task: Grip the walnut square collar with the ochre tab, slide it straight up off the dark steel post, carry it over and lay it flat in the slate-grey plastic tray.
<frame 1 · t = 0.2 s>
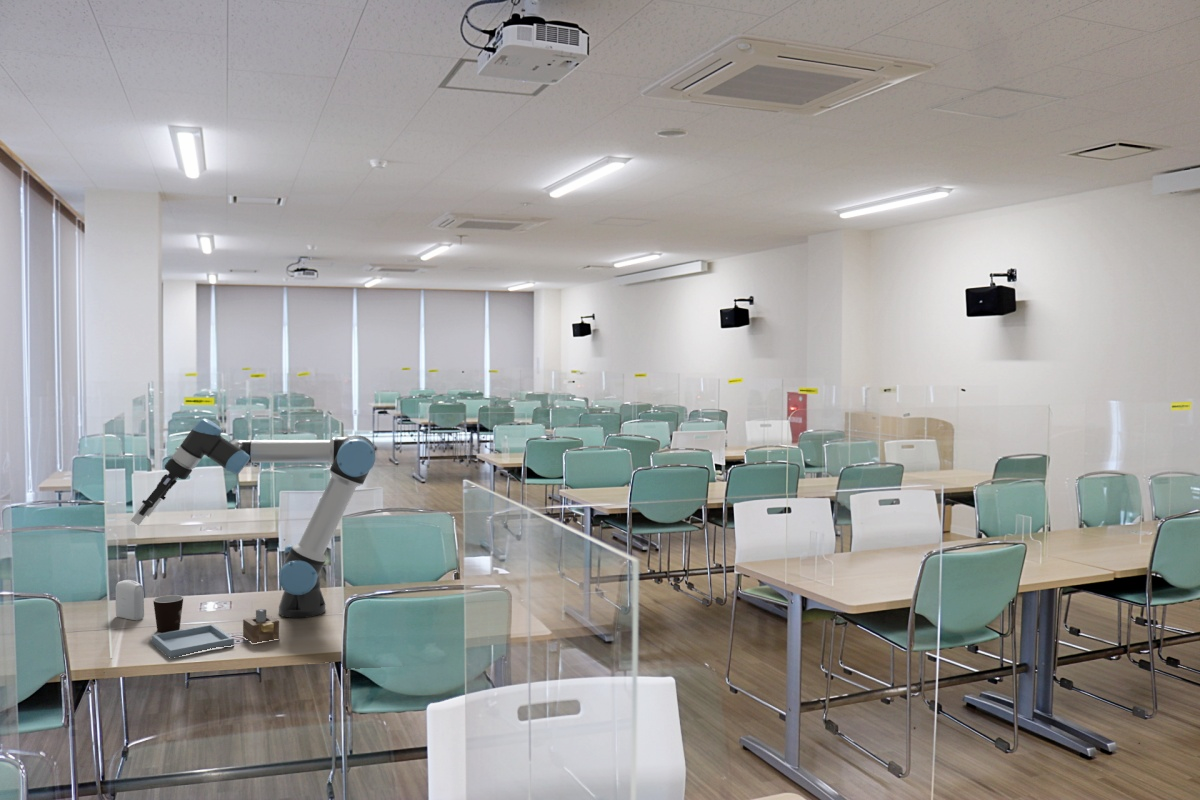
hand: (139, 518, 287), 36 cm above the table, tool tilted 35°, fingers open, 13 cm apart
collar: (261, 639, 283), on the table
tray: (192, 644, 277), on the table
coffee mug: (171, 629, 292), on the table
photo printer: (129, 618, 302), on the table
post: (261, 639, 283), on the table
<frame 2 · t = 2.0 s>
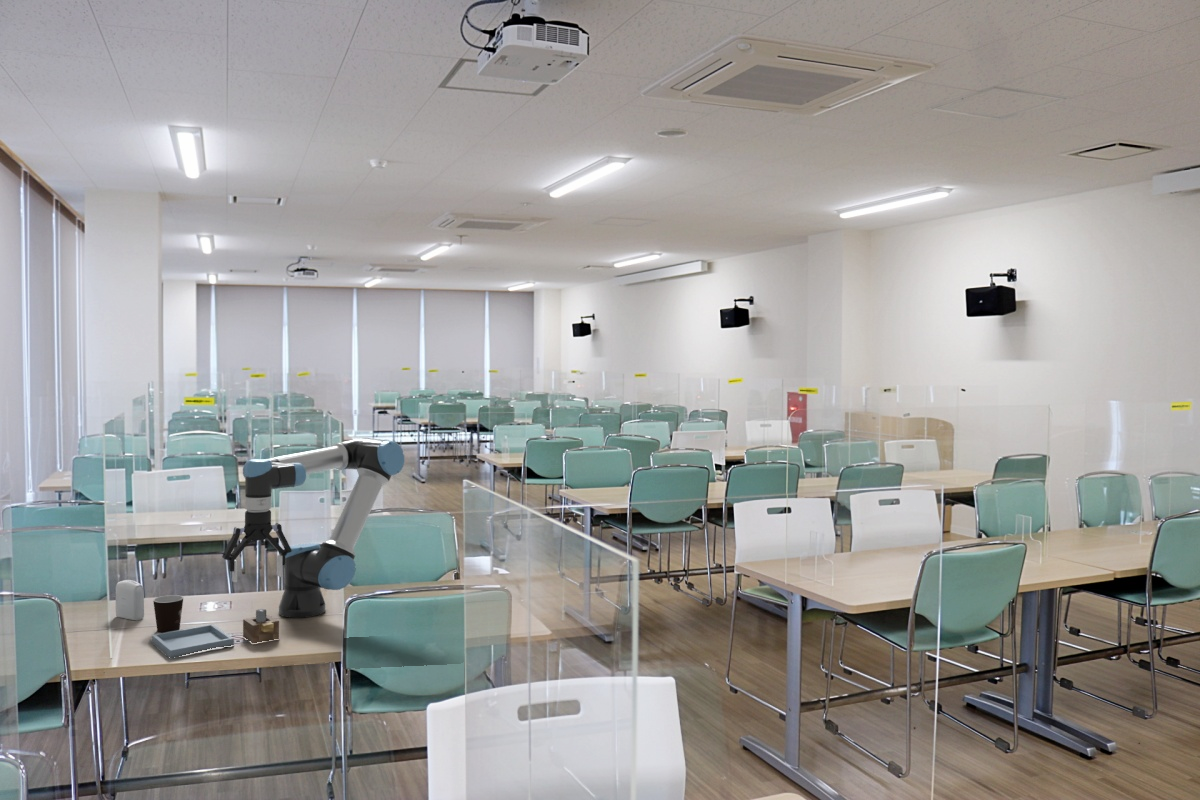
hand: (257, 578, 282), 19 cm above the table, tool pointing down, fingers open, 13 cm apart
nothing on the table moved.
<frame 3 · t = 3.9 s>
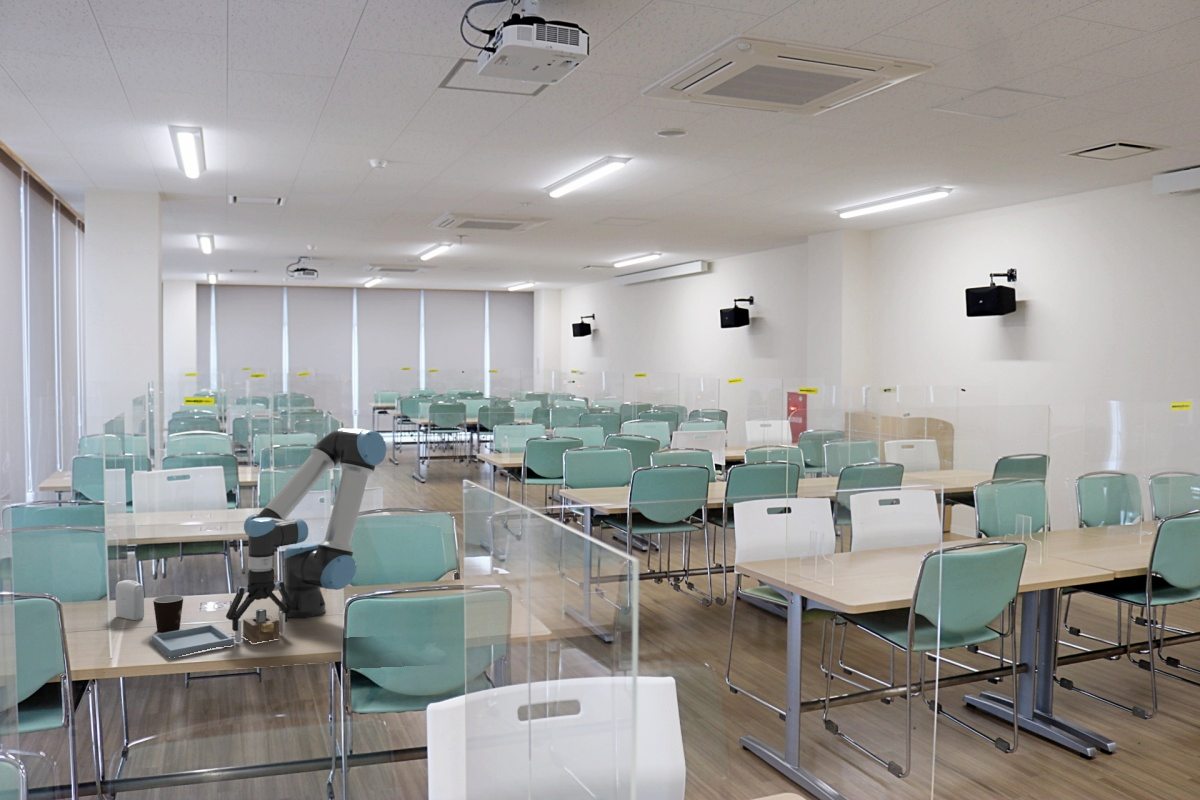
hand: (260, 637, 283), 1 cm above the table, tool pointing down, fingers open, 13 cm apart
nothing on the table moved.
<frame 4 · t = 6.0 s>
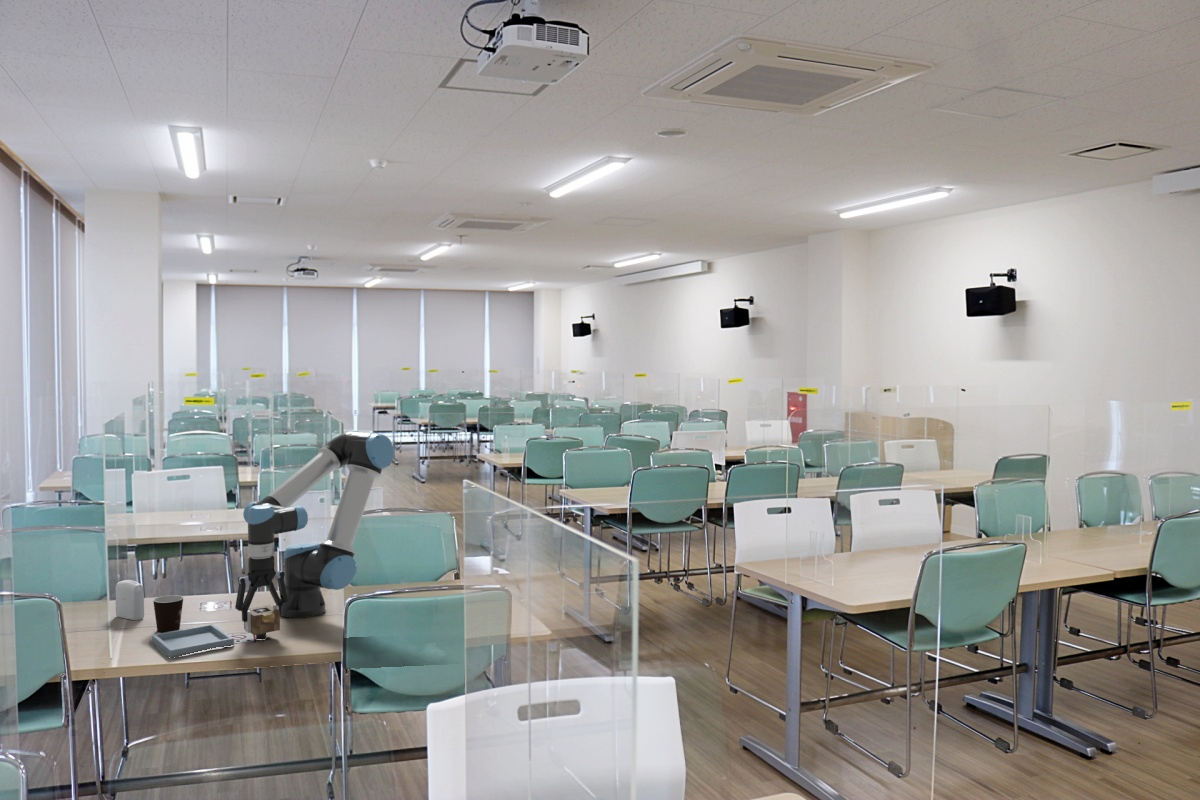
hand: (262, 628, 284), 3 cm above the table, tool pointing down, fingers closed on collar, 8 cm apart
collar: (262, 629, 284), point 3 cm above the table, touching gripper
everything else where it was.
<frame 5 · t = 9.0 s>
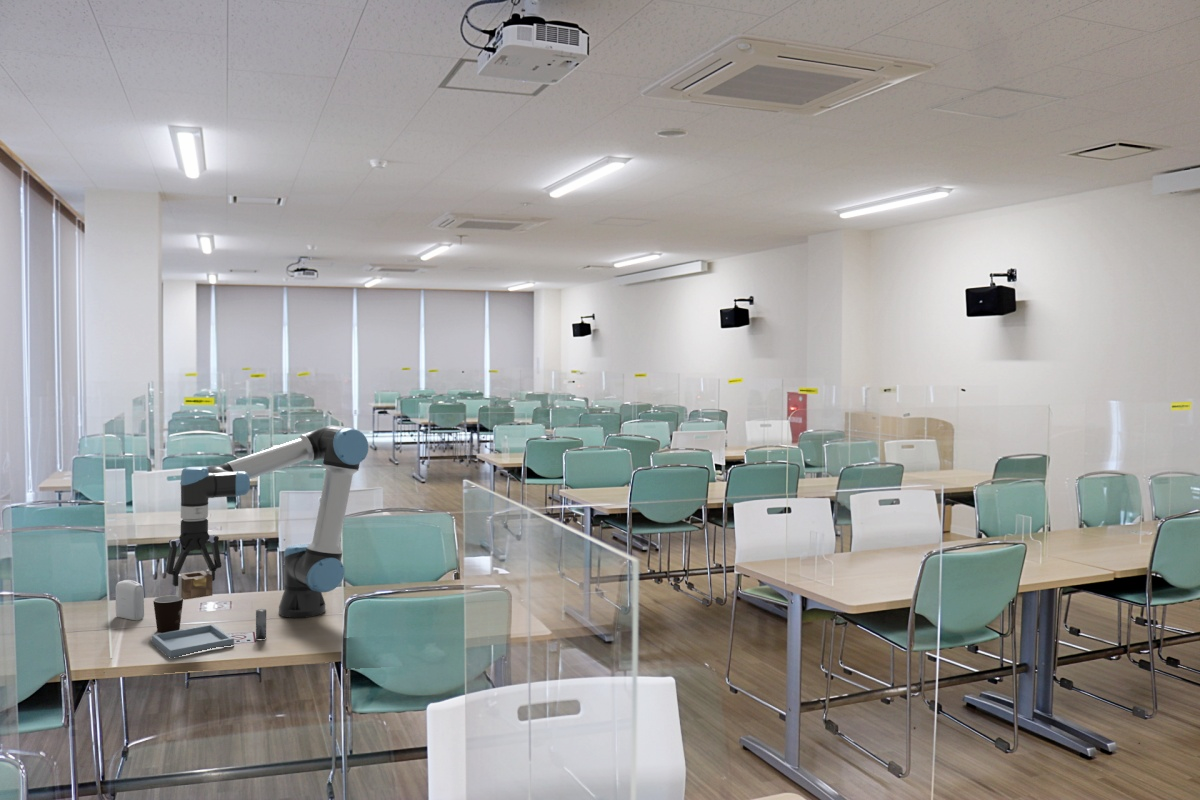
hand: (193, 594, 276), 16 cm above the table, tool pointing down, fingers closed on collar, 8 cm apart
collar: (193, 594, 276), point 15 cm above the table, touching gripper
everything else where it was.
when the fingers open (2 cm above the table, at t = 12.4 s): collar stays where it is, resting on tray.
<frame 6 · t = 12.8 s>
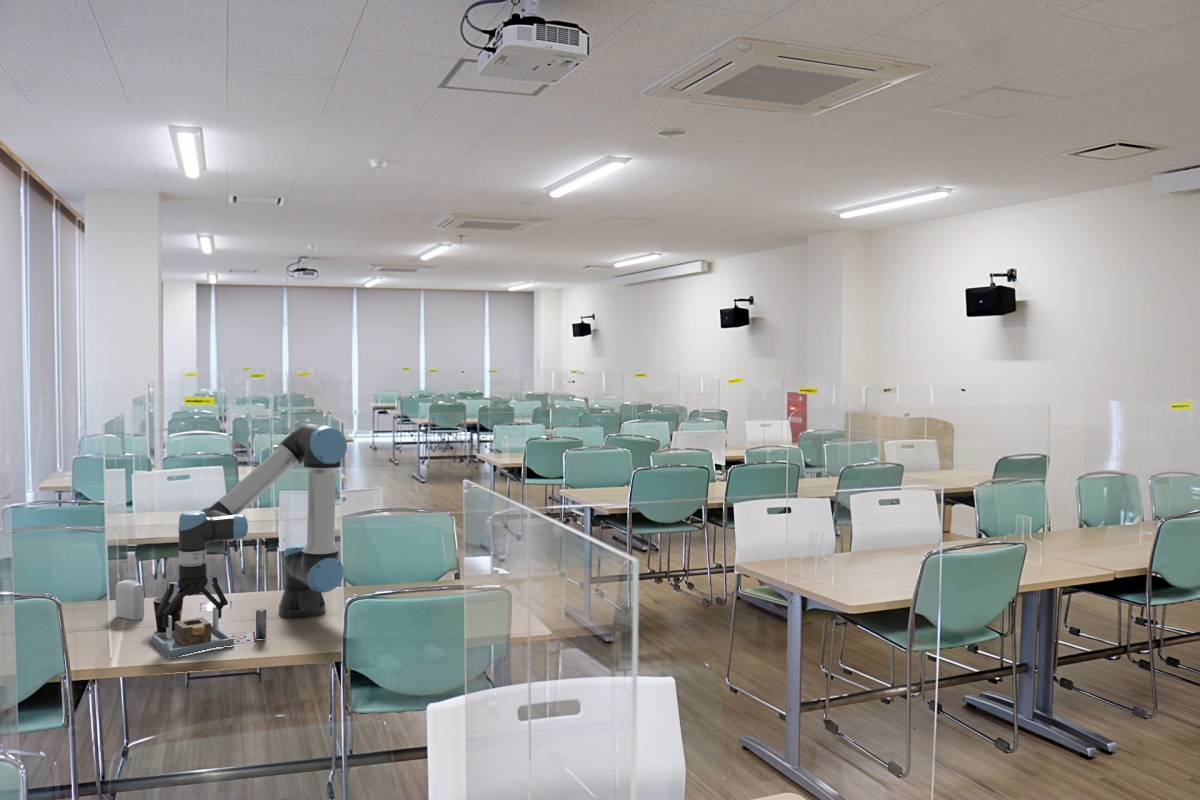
hand: (192, 633, 276), 3 cm above the table, tool pointing down, fingers open, 13 cm apart
collar: (192, 642, 277), point 1 cm above the table, touching tray
everything else where it was.
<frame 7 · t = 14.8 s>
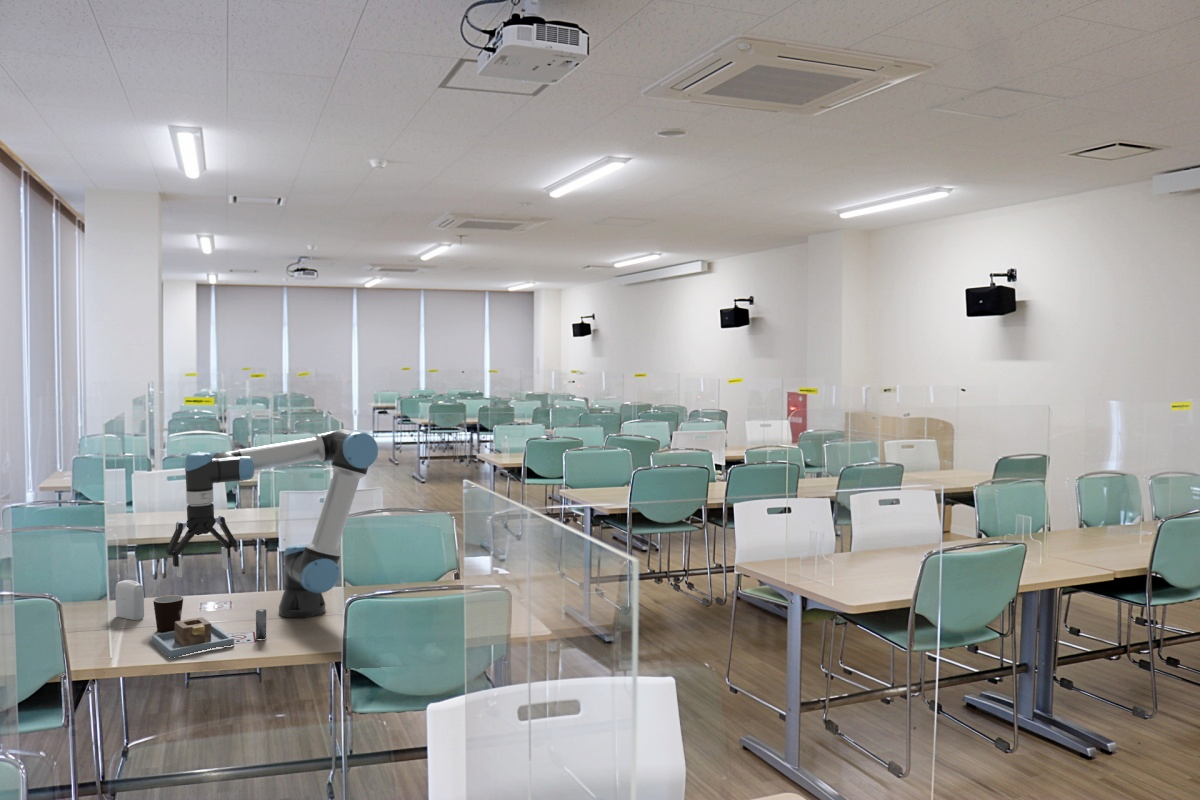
hand: (202, 572, 281), 21 cm above the table, tool pointing down, fingers open, 13 cm apart
nothing on the table moved.
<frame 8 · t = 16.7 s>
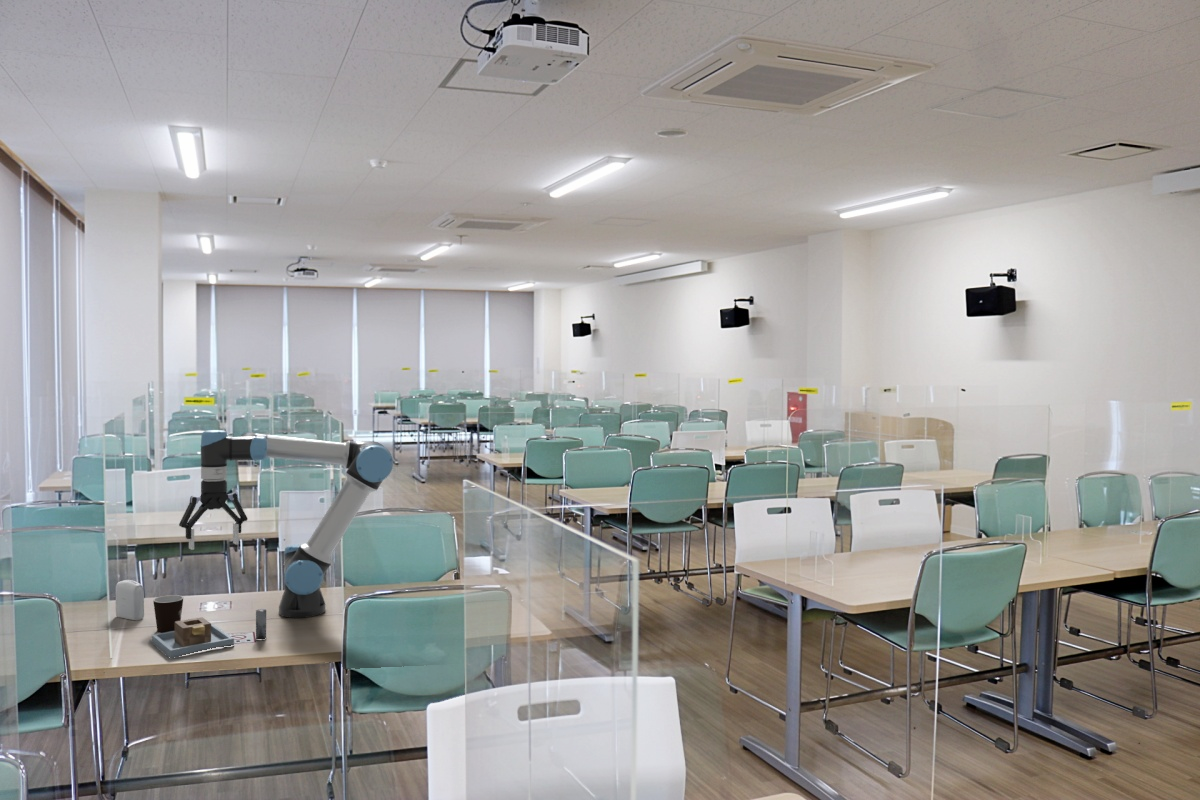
hand: (213, 546, 290), 27 cm above the table, tool pointing down, fingers open, 13 cm apart
nothing on the table moved.
at the end: collar inside the target area on the tray (0.0 cm from its centre), point 0.8 cm above the tray's base; collar tilted 0°; the gripper is holding nothing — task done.
